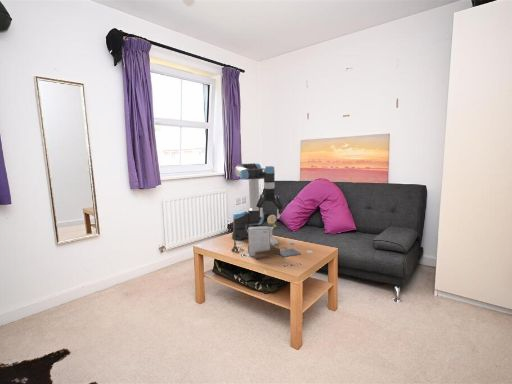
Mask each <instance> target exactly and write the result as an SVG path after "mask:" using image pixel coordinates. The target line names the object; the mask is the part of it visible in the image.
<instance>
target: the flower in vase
mask: <svg viewBox="0 0 512 384" xmlns="http://www.w3.org/2000/svg"><path fill="white" fill-rule="evenodd" d="M266 219H267V220H266V221H267V224H268V225H269V227H270V242H271V243H272V244H274V245H275V246H276V245H278V243H279V242H278V240H277V239H276V238H275V237H274V236H273V229H274V228H277V227H278V226H277V224H276V222H277V220H278V219H277V215H276V214H275V215H274V214H270V215H268V216H267V218H266Z"/></svg>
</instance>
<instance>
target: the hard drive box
mask: <svg viewBox="0 0 512 384" xmlns="http://www.w3.org/2000/svg"><path fill="white" fill-rule="evenodd" d="M270 227H271V226H248V228H247V231H248V239H247V240H248V246H249V253H248V257H255V252H260V251H266V250H271V249H270Z"/></svg>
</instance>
